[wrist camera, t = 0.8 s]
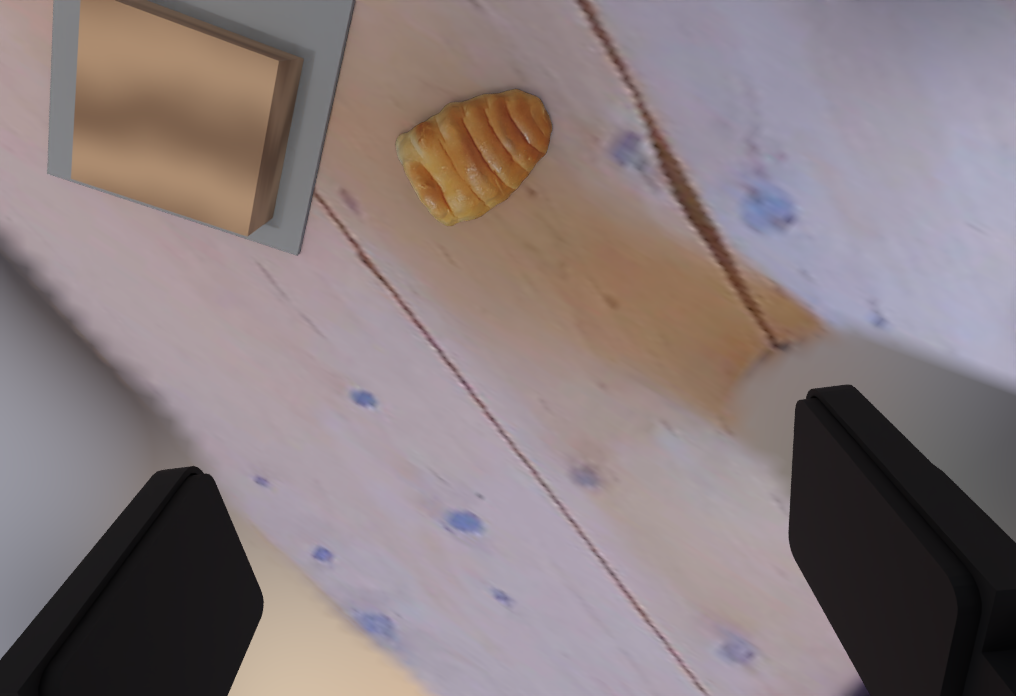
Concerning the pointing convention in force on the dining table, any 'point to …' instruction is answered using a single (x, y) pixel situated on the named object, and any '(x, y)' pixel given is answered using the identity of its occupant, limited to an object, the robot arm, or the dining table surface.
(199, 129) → the plinth
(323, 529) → the dining table surface
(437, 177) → the pastry
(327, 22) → the slate mat
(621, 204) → the dining table surface
